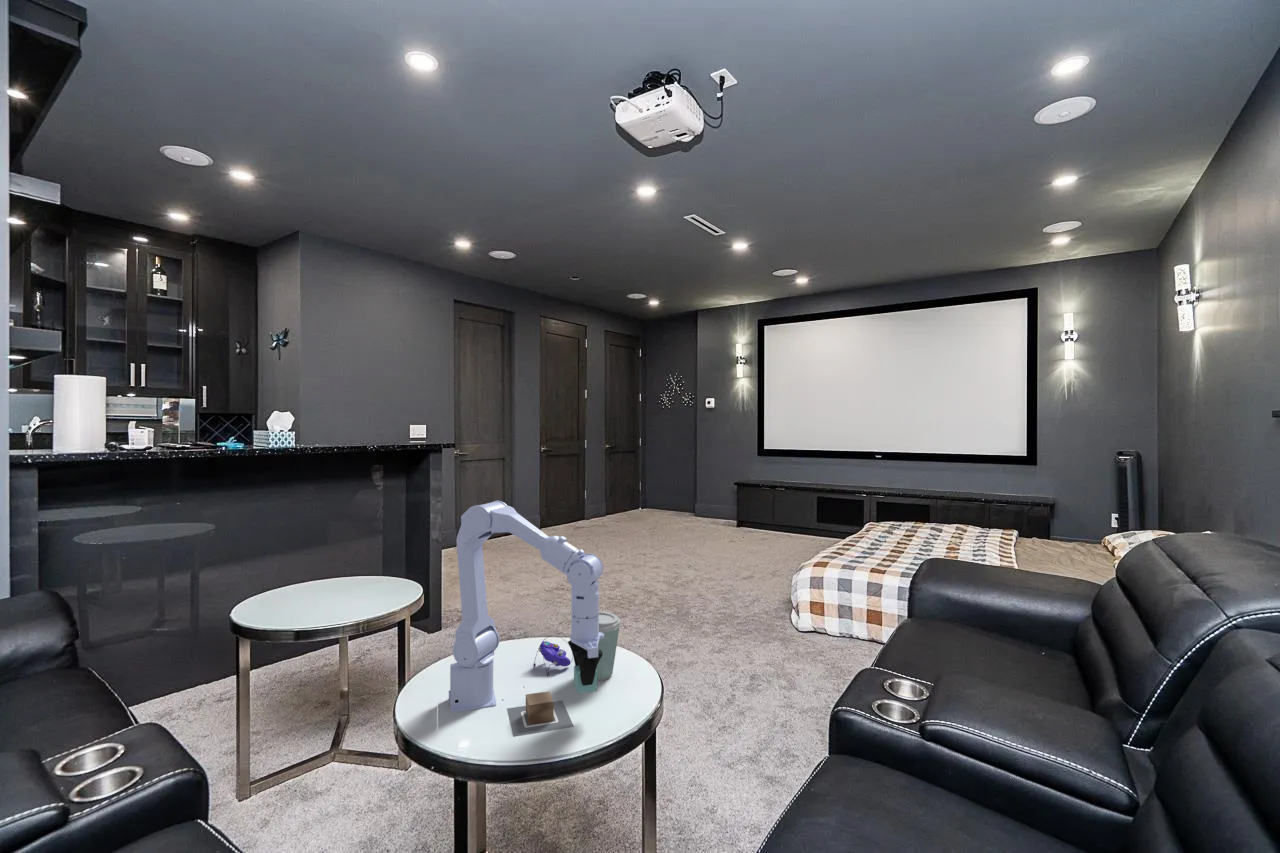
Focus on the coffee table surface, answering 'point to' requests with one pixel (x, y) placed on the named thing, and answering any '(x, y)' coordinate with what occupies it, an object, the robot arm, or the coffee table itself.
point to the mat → (523, 727)
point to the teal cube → (578, 683)
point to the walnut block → (539, 708)
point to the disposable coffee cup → (607, 644)
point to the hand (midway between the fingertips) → (584, 679)
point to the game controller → (553, 654)
